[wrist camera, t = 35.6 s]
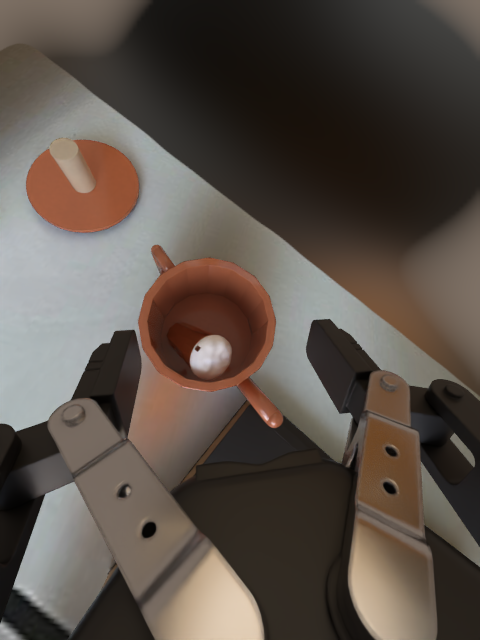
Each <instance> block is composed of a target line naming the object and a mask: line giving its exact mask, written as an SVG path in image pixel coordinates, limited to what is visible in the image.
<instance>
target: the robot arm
mask: <svg viewBox="0 0 480 640" xmlns="http://www.w3.org/2000/svg"><path fill="white" fill-rule="evenodd" d="M306 353H307V357H308V359H309V361H310V363H311V364H312V366H313V368H314V370H315V372H316V373H317V375H318V377H319V379H320V380H321V382H322V384H323V386H324V387H325V389H326V391H327V393H328V394H329V396H330V398H331V400H332V401H333V403H334V405H335V407H336V408H337V410H338V412H339V414H342V413H351V415H352V416H353V417H352V419H351V422H350V427H349V432H348V437H347V442H346V446H345V451H344V456H343V460H342V463H341V464H340V463H338V462H335V461H333V460H329V459H325V458H321V455H320V453H319V451H318V448H315V449H308V450H301V451H293V452H288V453H286V454H284V455H282V456H279V457H277V458H275V459H273V460H270V461H268V462H266V463H263V464H250V463H242V462H234V461H222V462H215V463H208V464H201V465H196V475H195V476H193V477H191V478H189V479H187V480H185V481H184V482H182V483H181V484H179V485H178V486H177V487H175V488H174V489H173V490H172V491H171V492H169V491H168V489H167V488H166V487H165V485H164V484H163V483H162V482H161V480H160V479H159V478H158V476H157V475H156V474H155V472H154V471H153V470H152V468H151V467H150V466H149V464H148V463H147V462H146V461H145V459H144V458H143V457H142V455H141V454H140V453H139V451H138V450H137V449H136V447H135V446H134V445H133V444H132V442H131V441H130V440H129V439H127V438H128V433H129V428H130V423H131V418H132V413H133V408H134V404H135V399H136V394H137V389H138V384H139V379H140V374H141V356H140V351H139V346H138V341H137V337H136V333H135V330H123V331H115V332H114V334H113V337H112V339H111V342H110V343H104V344H101V345H100V346H99V347H98V348H97V349H96V350H95V351H94V352H93V353H92V355H91V357H90V360H89V363H88V364H87V366H86V368H85V371H84V373H83V375H82V377H81V379H80V381H79V384H78V386H77V388H76V390H75V392H74V394H73V397H72V399H71V401H69V402H66V403H64V404H63V405H61V406H60V407H58V408H57V409H56V410H55V411H54V412H53V413H52V415H51V416H50V418H49V420H48V421H46V422H43V423H40V424H38V425H35V426H32V427H29V428H26V429H23V430H20V431H17V432H15V430H14V429H13V428H12V427H11V426H10V425H7V424H0V622H1V619H2V617H3V614H4V611H5V608H6V605H7V602H8V599H9V597H10V594H11V591H12V588H13V585H14V582H15V579H16V577H17V574H18V571H19V568H20V565H21V562H22V559H23V556H24V554H25V551H26V548H27V545H28V542H29V539H30V536H31V534H32V531H33V528H34V525H35V522H36V519H37V516H38V513H39V511H40V508H41V505H42V502H43V499H44V496H45V494H46V493H48V492H51V491H53V490H55V489H58V488H60V487H62V486H64V485H67V484H69V483H71V482H74V481H75V483H76V485H77V487H78V489H79V491H80V493H81V495H82V497H83V499H84V501H85V503H86V505H87V507H88V509H89V511H90V513H91V515H92V517H93V518H94V520H95V522H96V524H97V526H98V528H99V530H100V532H101V534H102V536H103V538H104V540H105V542H106V544H107V546H108V548H109V550H110V552H111V554H112V555H113V557H114V559H115V561H116V563H117V565H118V566H117V568H116V569H115V571H114V572H113V574H112V575H111V577H110V578H109V579H108V581H107V582H106V584H105V585H104V587H103V588H102V590H101V591H100V593H99V594H98V596H97V597H96V599H95V600H94V602H93V603H92V605H91V606H90V607H89V609H88V610H87V612H86V613H85V615H84V616H83V618H82V619H81V621H80V622H79V624H78V625H77V627H76V628H75V630H74V631H73V633H72V634H71V635H70V637H69V638H68V640H480V567H479V566H478V565H476V564H475V563H474V562H472V561H471V560H470V559H468V558H467V557H466V556H465V555H463V554H462V553H461V552H459V551H458V550H457V549H455V548H454V547H453V546H451V545H450V544H449V543H448V542H446V541H445V540H444V539H442V538H441V537H440V536H438V535H437V534H436V533H434V532H433V531H432V530H431V529H429V528H428V527H427V526H425V525H424V513H423V494H422V476H421V462H422V463H423V465H424V466H425V468H426V469H427V471H428V472H429V473H430V475H431V476H432V478H433V479H434V481H435V482H436V484H437V485H438V487H439V488H440V490H441V491H442V492H443V494H444V495H445V497H446V498H447V500H448V501H449V503H450V504H451V506H452V507H453V509H454V510H455V512H456V513H457V514H458V516H459V517H460V519H461V520H462V522H463V523H464V525H465V526H466V528H467V529H468V531H469V532H470V534H471V535H472V536H473V538H474V539H475V541H476V542H477V544H478V545H479V547H480V401H479V400H478V399H477V398H476V397H475V396H474V395H473V394H471V393H470V392H469V391H468V390H467V389H465V388H464V387H462V386H461V385H459V384H457V383H454V382H452V381H449V380H444V379H437V380H434V381H432V383H431V384H430V386H429V388H422V387H415V386H409V385H408V384H407V383H406V381H405V380H404V379H402V378H401V377H400V376H398V375H396V374H394V373H392V372H389V371H384V370H381V369H380V368H379V367H378V366H377V365H376V364H375V363H374V361H373V360H372V359H371V358H370V357H369V356H368V354H367V353H366V352H365V351H364V350H362V348H361V346H360V345H359V344H357V342H356V341H355V340H354V338H353V337H352V336H351V335H350V334H348V333H347V332H345V331H344V330H342V329H338V328H337V327H336V325H335V324H334V323H333V322H332V321H331V320H330V319H324V320H313V322H312V324H311V328H310V332H309V337H308V341H307V346H306ZM454 433H455V434H456V435H457V436H458V437H459V438H460V439H461V441H462V442H463V443H464V444H465V445H466V446H467V447H468V449H469V450H470V451H471V452H472V454H473V456H474V458H475V467H473V466H472V465H471V464H470V463H469V461H468V460H467V459H466V458H465V457H464V455H463V454H462V453H461V452H460V451H459V449H458V448H457V447H456V446H455V445H454V443H453V442H452V441H451V440H450V437H451V436H452V435H453V434H454ZM125 438H126V439H125ZM124 439H125V440H124Z"/></svg>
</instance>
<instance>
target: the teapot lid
mask: <svg viewBox="0 0 480 640" xmlns="http://www.w3.org/2000/svg"><path fill="white" fill-rule="evenodd" d="M26 190H27V195H28V198H29V201H30V203H31V204H32V206H33V208H34V209H35V210H36V211H37V213H38V214H39V215H40V216H41V217H42V218H43V219H45V220H46V221H48V222H49V223H51V224H52V225H54V226H56V227H59V228H61V229H64V230H68V231H72V232H83V233H86V232H96V231H101V230H104V229H107V228H109V227H112V226H114V225H116V224H117V223H119V222H120V221H122V220H123V219H124V218H125V217H126V216H127V215H128V214H129V213H130V212H131V211H132V209H133V208H134V206H135V204H136V202H137V199H138V195H139V180H138V176H137V173H136V170H135V168H134V166H133V165H132V163H131V162H130V161H129V159H128V158H127V157H126V156H125V155H124V154H123V153H121V152H120V151H118V150H117V149H115V148H113V147H112V146H109V145H107V144H104V143H101V142H97V141H92V140H71V139H68V138H59V139H56V140H54V141H53V142H52V143H51V144H50V147H49V149H48V150H46V151H45V152H43V153H42V154H41V155H40V156H39V157H38V158H37V159H36V160H35V161H34V163H33V164H32V166H31V168H30V170H29V172H28V175H27V181H26Z"/></svg>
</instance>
